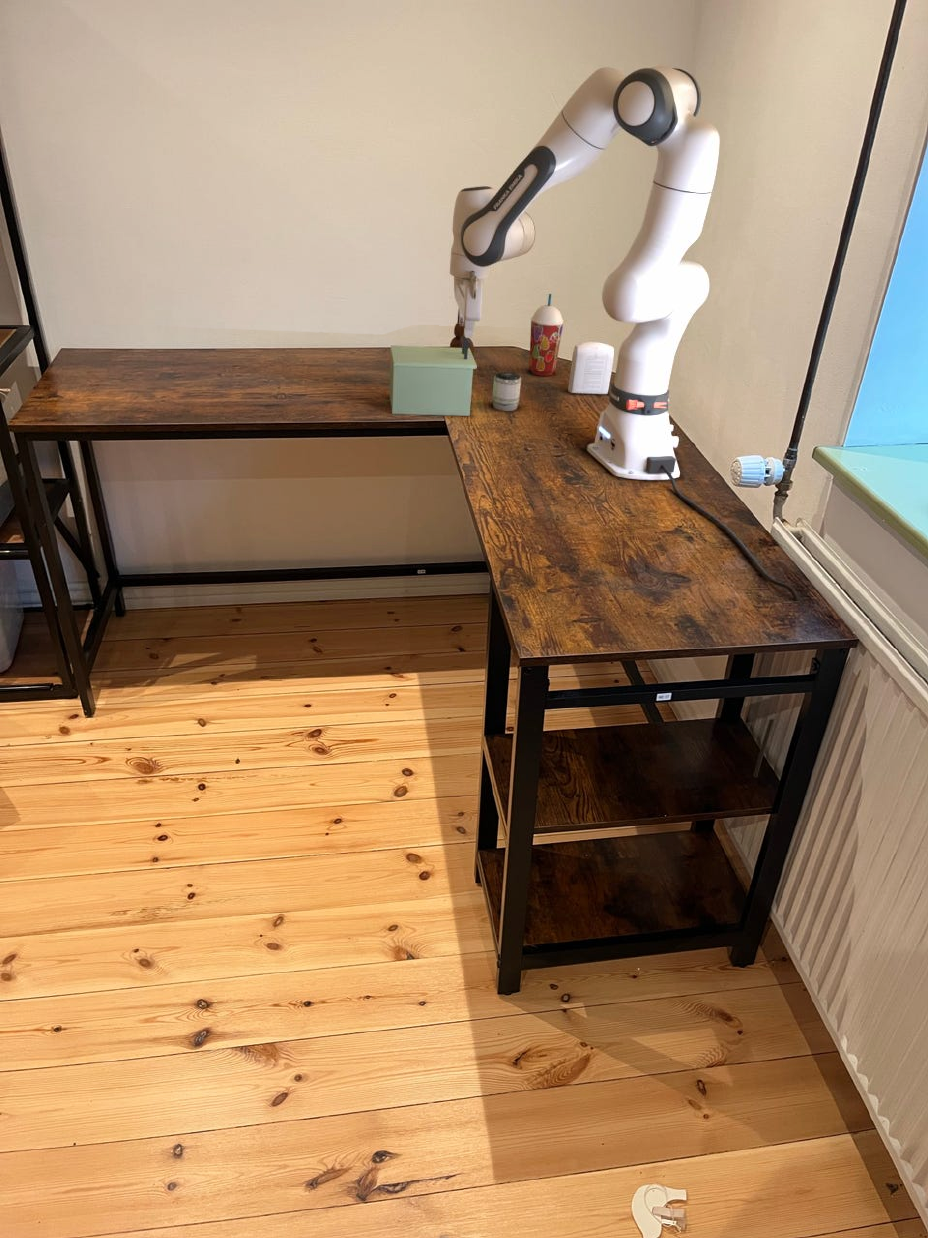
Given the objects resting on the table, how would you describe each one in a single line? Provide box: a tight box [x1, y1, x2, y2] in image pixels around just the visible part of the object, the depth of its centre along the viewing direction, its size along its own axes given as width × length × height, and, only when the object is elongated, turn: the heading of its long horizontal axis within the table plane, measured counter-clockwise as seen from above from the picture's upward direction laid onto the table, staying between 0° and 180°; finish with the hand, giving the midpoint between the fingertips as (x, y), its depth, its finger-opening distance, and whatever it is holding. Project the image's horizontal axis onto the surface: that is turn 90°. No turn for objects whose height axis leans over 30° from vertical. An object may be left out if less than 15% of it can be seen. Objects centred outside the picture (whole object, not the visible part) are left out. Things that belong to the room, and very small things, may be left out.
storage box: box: [388, 351, 474, 417], centre depth 220 cm, size 18×14×11 cm
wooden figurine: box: [449, 309, 475, 359], centre depth 247 cm, size 7×6×15 cm
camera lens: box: [491, 371, 522, 412], centre depth 224 cm, size 6×6×8 cm
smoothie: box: [528, 293, 565, 377], centre depth 246 cm, size 8×8×20 cm
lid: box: [390, 335, 478, 370], centre depth 216 cm, size 18×14×5 cm
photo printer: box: [567, 341, 615, 395], centre depth 237 cm, size 10×4×12 cm, turn 98°
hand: (465, 331), depth 215 cm, fingers open, 8 cm apart
